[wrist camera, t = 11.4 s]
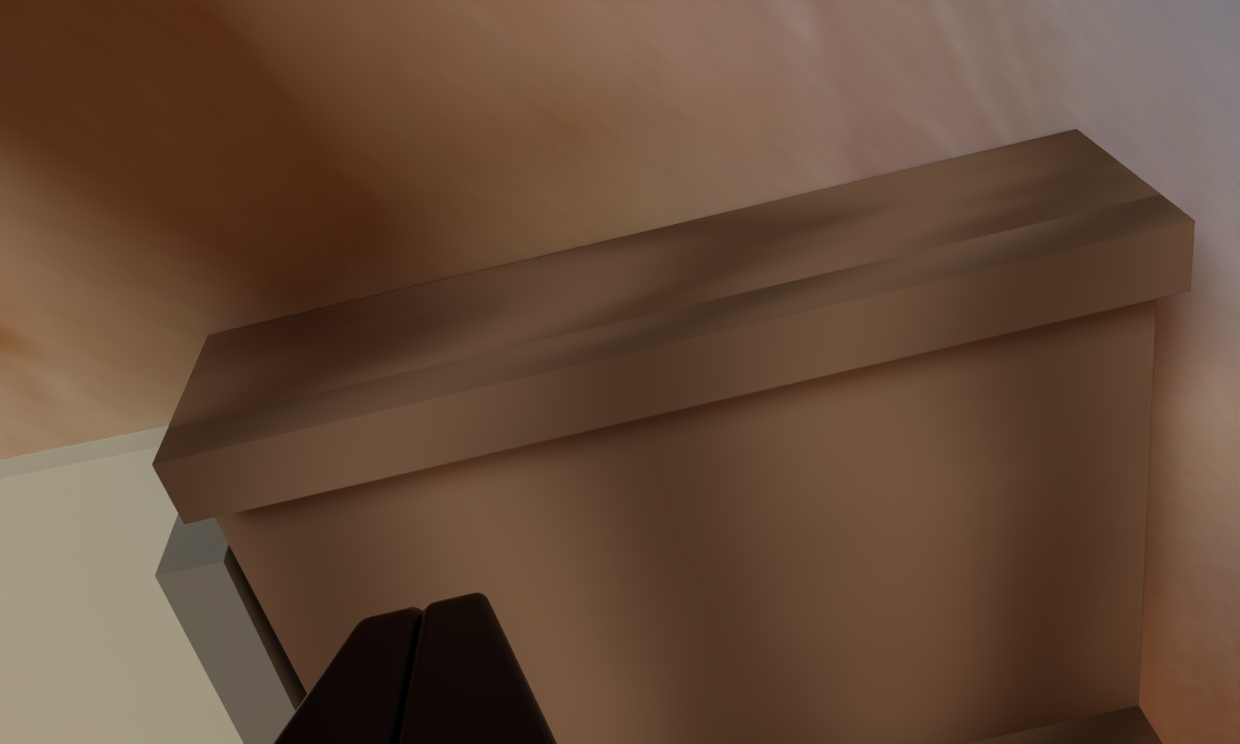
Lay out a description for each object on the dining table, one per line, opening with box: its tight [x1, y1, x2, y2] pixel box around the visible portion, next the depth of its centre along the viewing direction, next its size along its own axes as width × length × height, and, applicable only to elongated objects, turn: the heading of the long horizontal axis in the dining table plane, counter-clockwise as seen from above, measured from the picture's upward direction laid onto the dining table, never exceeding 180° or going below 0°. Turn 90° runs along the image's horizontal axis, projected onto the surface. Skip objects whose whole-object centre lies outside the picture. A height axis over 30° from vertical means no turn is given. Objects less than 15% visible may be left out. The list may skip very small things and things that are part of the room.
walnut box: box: [152, 129, 1195, 744], centre depth 22 cm, size 16×13×4 cm
